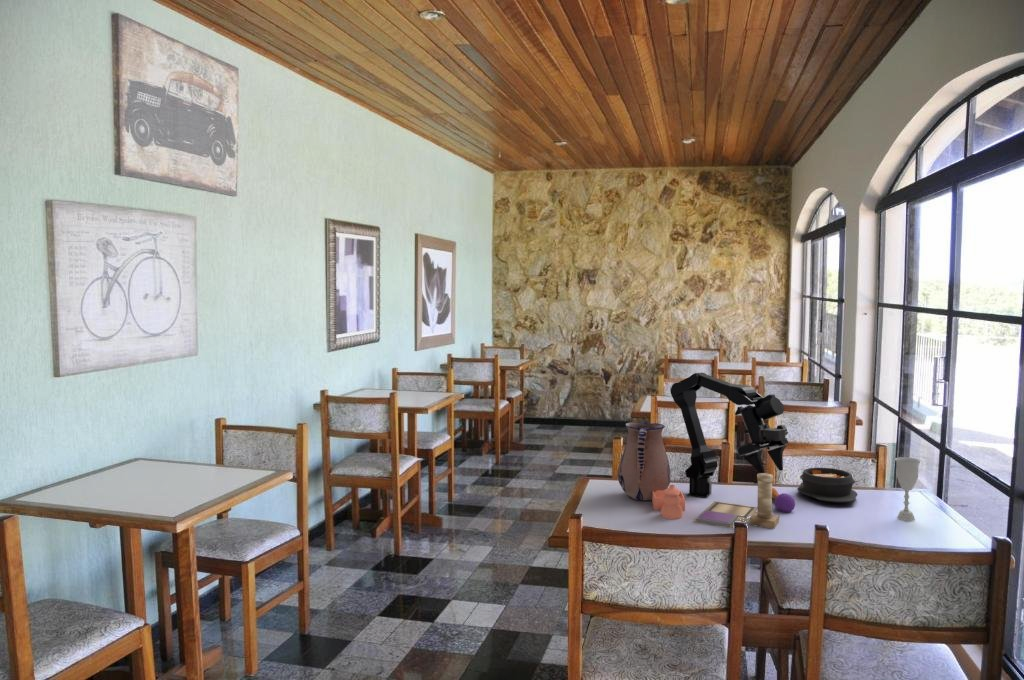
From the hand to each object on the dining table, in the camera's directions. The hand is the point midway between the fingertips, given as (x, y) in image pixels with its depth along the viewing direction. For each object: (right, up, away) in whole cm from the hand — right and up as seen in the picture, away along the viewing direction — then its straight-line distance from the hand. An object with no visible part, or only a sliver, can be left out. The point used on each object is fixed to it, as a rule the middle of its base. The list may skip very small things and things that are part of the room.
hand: (772, 472), depth 226 cm
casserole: (+25, -12, +20) cm, 34 cm away
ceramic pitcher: (-36, -12, +19) cm, 43 cm away
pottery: (-31, -13, +5) cm, 34 cm away
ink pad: (-19, -13, -6) cm, 24 cm away
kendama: (+6, -13, +11) cm, 18 cm away
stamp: (-6, -14, -9) cm, 18 cm away
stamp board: (-14, -13, 0) cm, 20 cm away
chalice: (+39, -13, -4) cm, 41 cm away
